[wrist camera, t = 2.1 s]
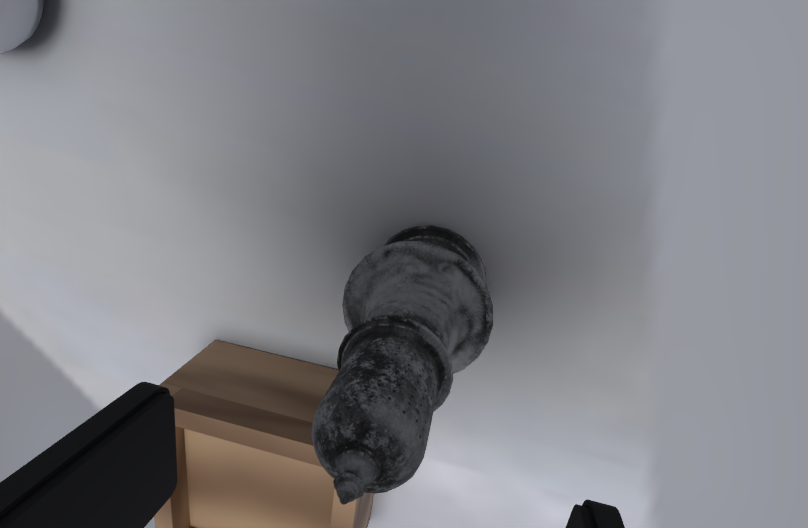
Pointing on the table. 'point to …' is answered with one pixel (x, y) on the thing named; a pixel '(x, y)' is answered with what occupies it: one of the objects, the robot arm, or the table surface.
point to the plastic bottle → (18, 21)
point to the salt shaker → (399, 356)
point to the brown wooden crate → (251, 445)
